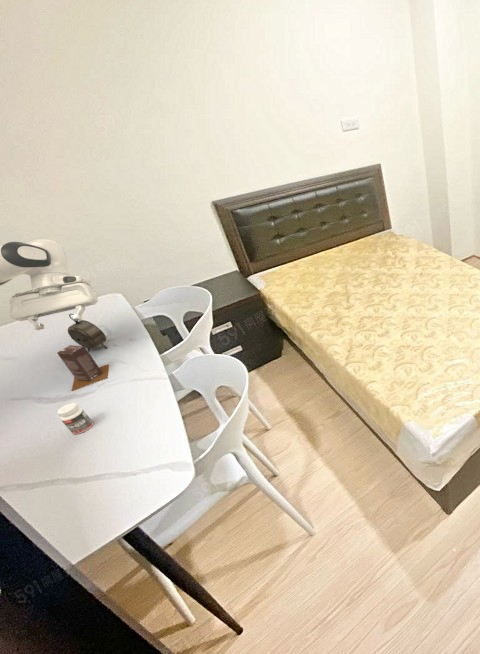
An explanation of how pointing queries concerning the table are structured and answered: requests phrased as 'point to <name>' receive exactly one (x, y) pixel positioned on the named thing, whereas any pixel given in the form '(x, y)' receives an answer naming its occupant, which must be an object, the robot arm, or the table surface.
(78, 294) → the robot arm
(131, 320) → the table surface
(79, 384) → the coaster
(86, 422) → the pill bottle
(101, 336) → the alarm clock
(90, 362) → the box
